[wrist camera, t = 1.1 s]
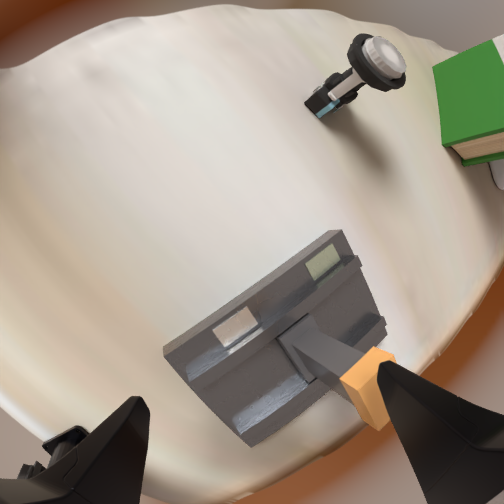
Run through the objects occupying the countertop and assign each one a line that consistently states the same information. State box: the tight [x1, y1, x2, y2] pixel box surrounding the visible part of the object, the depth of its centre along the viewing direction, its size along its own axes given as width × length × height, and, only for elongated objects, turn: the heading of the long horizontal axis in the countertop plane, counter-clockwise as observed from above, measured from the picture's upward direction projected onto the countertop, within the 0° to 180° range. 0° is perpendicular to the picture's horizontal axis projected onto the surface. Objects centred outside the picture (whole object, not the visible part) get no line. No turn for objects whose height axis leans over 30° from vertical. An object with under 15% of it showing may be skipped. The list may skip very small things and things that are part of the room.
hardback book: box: [432, 34, 504, 167], centre depth 21 cm, size 18×7×24 cm, turn 166°
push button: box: [304, 34, 406, 118], centre depth 19 cm, size 7×5×10 cm
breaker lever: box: [276, 313, 397, 431], centre depth 16 cm, size 3×5×10 cm, turn 33°
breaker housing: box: [163, 229, 388, 447], centre depth 21 cm, size 17×12×3 cm
